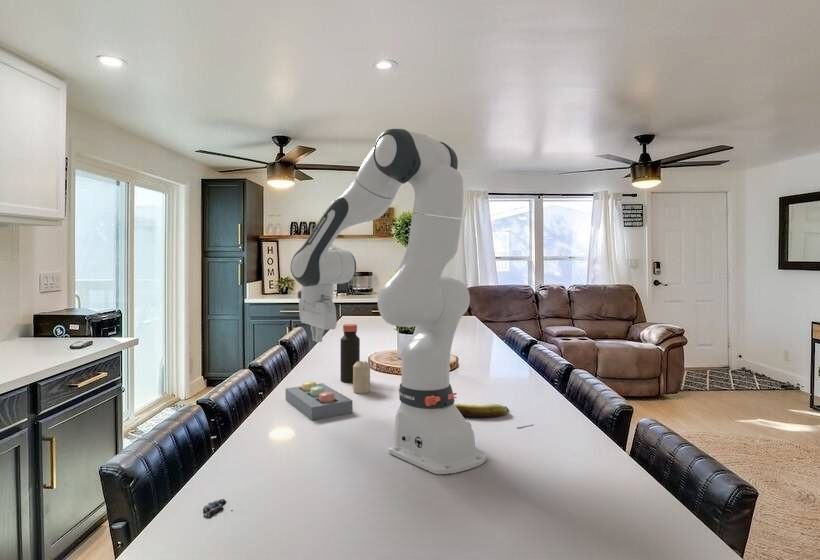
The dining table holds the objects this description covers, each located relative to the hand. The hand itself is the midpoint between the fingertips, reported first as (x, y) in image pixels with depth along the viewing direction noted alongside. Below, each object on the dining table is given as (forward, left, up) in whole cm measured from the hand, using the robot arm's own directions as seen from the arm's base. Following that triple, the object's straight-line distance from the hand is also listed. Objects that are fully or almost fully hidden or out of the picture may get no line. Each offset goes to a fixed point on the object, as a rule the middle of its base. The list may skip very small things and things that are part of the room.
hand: (317, 341), depth 135 cm
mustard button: (+7, 0, -17) cm, 18 cm away
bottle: (+22, -21, -19) cm, 36 cm away
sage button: (0, 0, -17) cm, 17 cm away
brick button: (-7, 0, -17) cm, 18 cm away
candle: (+7, -18, -19) cm, 27 cm away
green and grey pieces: (-31, -36, -20) cm, 51 cm away
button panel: (0, 0, -19) cm, 19 cm away
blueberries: (-45, +36, -20) cm, 61 cm away
